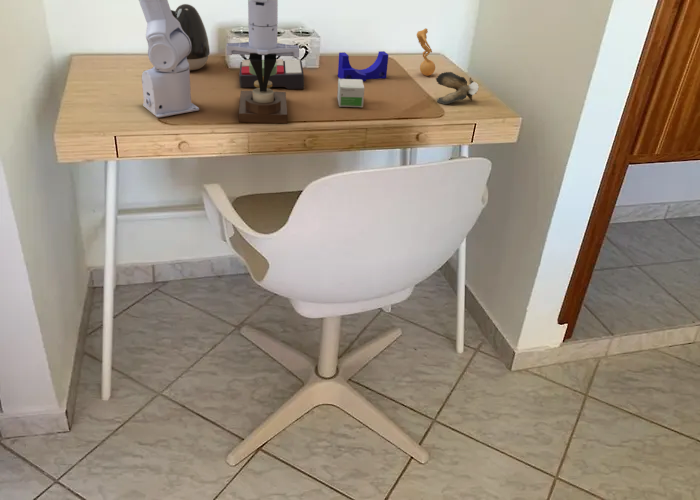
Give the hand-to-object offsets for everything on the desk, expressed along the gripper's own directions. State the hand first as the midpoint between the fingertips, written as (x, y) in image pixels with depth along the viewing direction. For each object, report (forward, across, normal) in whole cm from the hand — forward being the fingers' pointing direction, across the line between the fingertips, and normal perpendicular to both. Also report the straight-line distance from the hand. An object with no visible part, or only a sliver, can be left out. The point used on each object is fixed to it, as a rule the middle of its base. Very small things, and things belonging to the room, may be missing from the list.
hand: (263, 89), depth 140 cm
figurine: (+6, +41, +32) cm, 52 cm away
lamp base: (+6, 0, +4) cm, 7 cm away
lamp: (+2, 0, +8) cm, 9 cm away
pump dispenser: (+6, -18, +32) cm, 37 cm away
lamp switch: (+2, 0, 0) cm, 2 cm away
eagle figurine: (+6, +45, +13) cm, 48 cm away
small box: (+6, +20, +10) cm, 23 cm away
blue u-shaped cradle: (+6, +25, +28) cm, 38 cm away
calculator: (+6, +2, +23) cm, 24 cm away
